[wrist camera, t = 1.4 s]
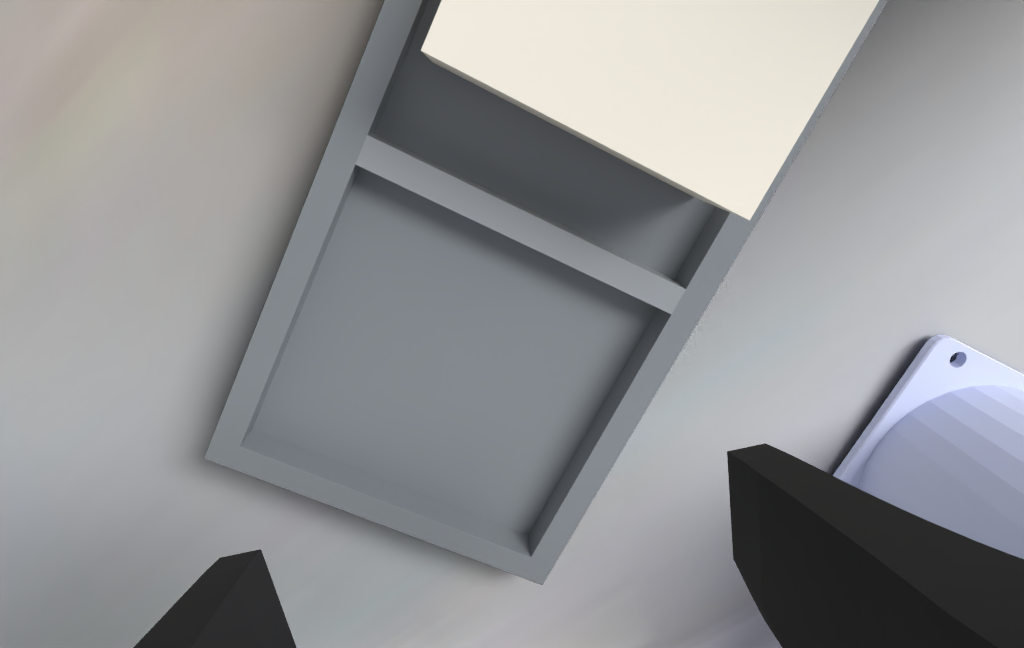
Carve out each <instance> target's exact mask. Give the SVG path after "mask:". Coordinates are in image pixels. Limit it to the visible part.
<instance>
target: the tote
mask: <svg viewBox="0 0 1024 648" xmlns="http://www.w3.org/2000/svg"><path fill="white" fill-rule="evenodd" d="M441 1H442V0H385V1H384V3H383V6H382V8H381V11H380V13H379V16H378V19H377V21H376V24H375V26H374V29H373V31H372V34H371V36H370V39H369V41H368V44H367V46H366V49H365V51H364V54H363V57H362V59H361V62H360V64H359V67H358V69H357V72H356V74H355V77H354V79H353V82H352V84H351V87H350V90H349V92H348V95H347V97H346V100H345V102H344V105H343V107H342V110H341V112H340V115H339V117H338V120H337V123H336V125H335V128H334V130H333V133H332V135H331V138H330V140H329V143H328V145H327V148H326V150H325V153H324V155H323V158H322V161H321V163H320V166H319V168H318V171H317V173H316V176H315V178H314V181H313V183H312V186H311V188H310V191H309V194H308V196H307V199H306V201H305V204H304V206H303V209H302V211H301V214H300V216H299V219H298V221H297V224H296V227H295V229H294V232H293V234H292V237H291V239H290V242H289V244H288V247H287V249H286V252H285V254H284V257H283V259H282V262H281V265H280V267H279V270H278V272H277V275H276V277H275V280H274V282H273V285H272V287H271V290H270V292H269V295H268V298H267V300H266V303H265V305H264V308H263V310H262V313H261V315H260V318H259V320H258V323H257V325H256V328H255V331H254V333H253V336H252V338H251V341H250V343H249V346H248V348H247V351H246V353H245V356H244V358H243V361H242V363H241V366H240V369H239V371H238V374H237V376H236V379H235V381H234V384H233V386H232V389H231V391H230V394H229V396H228V399H227V402H226V404H225V407H224V409H223V412H222V414H221V417H220V419H219V422H218V424H217V427H216V429H215V432H214V435H213V437H212V440H211V442H210V445H209V447H208V450H207V452H206V455H205V457H204V459H207V460H209V461H212V462H215V463H217V464H220V465H223V466H225V467H228V468H231V469H233V470H236V471H239V472H241V473H244V474H247V475H249V476H252V477H255V478H257V479H260V480H263V481H266V482H268V483H271V484H274V485H276V486H279V487H282V488H284V489H287V490H290V491H292V492H295V493H298V494H300V495H303V496H306V497H308V498H311V499H314V500H316V501H319V502H322V503H324V504H327V505H330V506H332V507H335V508H338V509H340V510H343V511H346V512H348V513H351V514H354V515H356V516H359V517H362V518H364V519H367V520H370V521H372V522H375V523H378V524H380V525H383V526H386V527H388V528H391V529H394V530H396V531H399V532H402V533H404V534H407V535H410V536H412V537H415V538H418V539H420V540H423V541H426V542H428V543H431V544H434V545H436V546H439V547H442V548H444V549H447V550H450V551H452V552H455V553H458V554H460V555H463V556H466V557H468V558H471V559H474V560H476V561H479V562H482V563H484V564H487V565H490V566H492V567H495V568H498V569H500V570H503V571H506V572H509V573H511V574H514V575H517V576H519V577H522V578H525V579H527V580H530V581H533V582H535V583H538V584H541V585H543V583H544V582H545V580H546V578H547V576H548V575H549V573H550V571H551V570H552V568H553V566H554V565H555V563H556V561H557V560H558V558H559V556H560V554H561V553H562V551H563V549H564V548H565V546H566V544H567V543H568V541H569V539H570V538H571V536H572V534H573V533H574V531H575V529H576V527H577V526H578V524H579V522H580V521H581V519H582V517H583V516H584V514H585V512H586V511H587V509H588V507H589V505H590V504H591V502H592V500H593V499H594V497H595V495H596V494H597V492H598V490H599V489H600V487H601V485H602V484H603V482H604V480H605V478H606V477H607V475H608V473H609V472H610V470H611V468H612V467H613V465H614V463H615V462H616V460H617V458H618V456H619V455H620V453H621V451H622V450H623V448H624V446H625V445H626V443H627V441H628V440H629V438H630V436H631V435H632V433H633V431H634V429H635V428H636V426H637V424H638V423H639V421H640V419H641V418H642V416H643V414H644V413H645V411H646V409H647V407H648V406H649V404H650V402H651V401H652V399H653V397H654V396H655V394H656V392H657V391H658V389H659V387H660V386H661V384H662V382H663V380H664V379H665V377H666V375H667V374H668V372H669V370H670V369H671V367H672V365H673V364H674V362H675V360H676V358H677V357H678V355H679V353H680V352H681V350H682V348H683V347H684V345H685V343H686V342H687V340H688V338H689V337H690V335H691V333H692V331H693V330H694V328H695V326H696V325H697V323H698V321H699V320H700V318H701V316H702V315H703V313H704V311H705V309H706V308H707V306H708V304H709V303H710V301H711V299H712V298H713V296H714V294H715V293H716V291H717V289H718V288H719V286H720V284H721V282H722V281H723V279H724V277H725V276H726V274H727V272H728V271H729V269H730V267H731V266H732V264H733V262H734V260H735V259H736V257H737V255H738V254H739V252H740V250H741V249H742V247H743V245H744V244H745V242H746V240H747V239H748V237H749V235H750V233H751V232H752V230H753V228H754V227H755V225H756V223H757V222H758V220H759V218H760V217H761V215H762V213H763V211H764V210H765V208H766V206H767V205H768V203H769V201H770V200H771V198H772V196H773V195H774V193H775V191H776V190H777V188H778V186H779V184H780V183H781V181H782V179H783V178H784V176H785V174H786V173H787V171H788V169H789V168H790V166H791V164H792V162H793V161H794V159H795V157H796V156H797V154H798V152H799V151H800V149H801V147H802V146H803V144H804V142H805V141H806V139H807V137H808V135H809V134H810V132H811V130H812V129H813V127H814V125H815V124H816V122H817V120H818V119H819V117H820V115H821V113H822V112H823V110H824V108H825V107H826V105H827V103H828V102H829V100H830V98H831V97H832V95H833V93H834V92H835V90H836V88H837V86H838V85H839V83H840V81H841V80H842V78H843V76H844V75H845V73H846V71H847V70H848V68H849V66H850V64H851V63H852V61H853V59H854V58H855V56H856V54H857V53H858V51H859V49H860V48H861V46H862V44H863V43H864V41H865V39H866V37H867V36H868V34H869V32H870V31H871V29H872V27H873V26H874V24H875V22H876V21H877V19H878V17H879V15H880V14H881V12H882V10H883V9H884V7H885V5H886V4H887V2H888V0H879V2H878V3H877V5H876V7H875V8H874V10H873V12H872V14H871V15H870V17H869V19H868V20H867V22H866V24H865V25H864V27H863V29H862V31H861V32H860V34H859V36H858V37H857V39H856V41H855V42H854V44H853V46H852V48H851V49H850V51H849V53H848V54H847V56H846V58H845V59H844V61H843V63H842V65H841V66H840V68H839V70H838V71H837V73H836V75H835V76H834V78H833V80H832V82H831V83H830V85H829V87H828V88H827V90H826V92H825V93H824V95H823V97H822V99H821V100H820V102H819V104H818V105H817V107H816V109H815V110H814V112H813V114H812V116H811V117H810V119H809V121H808V122H807V124H806V126H805V127H804V129H803V131H802V133H801V134H800V136H799V138H798V139H797V141H796V143H795V144H794V146H793V148H792V150H791V151H790V153H789V155H788V156H787V158H786V160H785V161H784V163H783V165H782V167H781V168H780V170H779V172H778V173H777V175H776V177H775V178H774V180H773V182H772V184H771V185H770V187H769V189H768V190H767V192H766V194H765V195H764V197H763V199H762V201H761V202H760V204H759V206H758V207H757V209H756V211H755V212H754V214H753V216H752V218H751V219H750V220H747V219H745V218H743V217H740V216H738V215H735V214H733V213H731V212H728V211H726V210H723V209H721V208H719V207H716V206H714V205H711V204H709V203H707V202H704V201H702V200H699V199H697V198H695V197H693V196H691V195H689V194H687V193H685V192H683V191H681V190H679V189H677V188H675V187H673V186H671V185H669V184H667V183H665V182H663V181H661V180H660V179H658V178H656V177H654V176H652V175H650V174H648V173H646V172H644V171H642V170H640V169H638V168H636V167H634V166H632V165H630V164H628V163H627V162H625V161H623V160H621V159H619V158H617V157H615V156H613V155H611V154H609V153H607V152H605V151H603V150H601V149H599V148H597V147H595V146H594V145H592V144H590V143H588V142H586V141H584V140H582V139H580V138H578V137H576V136H574V135H572V134H570V133H568V132H566V131H564V130H562V129H561V128H559V127H557V126H555V125H553V124H551V123H549V122H547V121H545V120H543V119H541V118H539V117H537V116H535V115H533V114H531V113H529V112H528V111H526V110H524V109H522V108H520V107H518V106H516V105H514V104H512V103H510V102H508V101H506V100H504V99H502V98H500V97H498V96H496V95H495V94H493V93H491V92H489V91H487V90H485V89H483V88H481V87H479V86H477V85H475V84H473V83H471V82H469V81H467V80H465V79H463V78H462V77H460V76H458V75H456V74H454V73H452V72H450V71H448V70H446V69H444V68H442V67H440V66H438V65H436V64H434V63H433V62H432V61H431V60H430V59H429V58H428V57H427V56H426V55H425V54H424V53H423V52H422V51H421V49H422V46H423V44H424V41H425V39H426V37H427V34H428V32H429V29H430V27H431V25H432V22H433V20H434V17H435V15H436V13H437V10H438V8H439V5H440V3H441Z"/></svg>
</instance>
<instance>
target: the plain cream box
mask: <svg viewBox="0 0 1024 648" xmlns="http://www.w3.org/2000/svg"><path fill="white" fill-rule="evenodd" d="M878 2H879V0H442V1H441V3H440V5H439V8H438V10H437V13H436V15H435V17H434V20H433V22H432V25H431V27H430V29H429V32H428V34H427V37H426V39H425V41H424V44H423V46H422V49H421V51H422V52H423V53H424V54H425V55H426V56H427V57H428V58H429V59H430V60H431V61H432V62H433V63H434V64H436V65H438V66H440V67H442V68H444V69H446V70H448V71H450V72H452V73H454V74H456V75H458V76H460V77H462V78H463V79H465V80H467V81H469V82H471V83H473V84H475V85H477V86H479V87H481V88H483V89H485V90H487V91H489V92H491V93H493V94H495V95H496V96H498V97H500V98H502V99H504V100H506V101H508V102H510V103H512V104H514V105H516V106H518V107H520V108H522V109H524V110H526V111H528V112H529V113H531V114H533V115H535V116H537V117H539V118H541V119H543V120H545V121H547V122H549V123H551V124H553V125H555V126H557V127H559V128H561V129H562V130H564V131H566V132H568V133H570V134H572V135H574V136H576V137H578V138H580V139H582V140H584V141H586V142H588V143H590V144H592V145H594V146H595V147H597V148H599V149H601V150H603V151H605V152H607V153H609V154H611V155H613V156H615V157H617V158H619V159H621V160H623V161H625V162H627V163H628V164H630V165H632V166H634V167H636V168H638V169H640V170H642V171H644V172H646V173H648V174H650V175H652V176H654V177H656V178H658V179H660V180H661V181H663V182H665V183H667V184H669V185H671V186H673V187H675V188H677V189H679V190H681V191H683V192H685V193H687V194H689V195H691V196H693V197H695V198H697V199H699V200H702V201H704V202H707V203H709V204H711V205H714V206H716V207H719V208H721V209H723V210H726V211H728V212H731V213H733V214H735V215H738V216H740V217H743V218H745V219H747V220H750V219H751V218H752V216H753V214H754V212H755V211H756V209H757V207H758V206H759V204H760V202H761V201H762V199H763V197H764V195H765V194H766V192H767V190H768V189H769V187H770V185H771V184H772V182H773V180H774V178H775V177H776V175H777V173H778V172H779V170H780V168H781V167H782V165H783V163H784V161H785V160H786V158H787V156H788V155H789V153H790V151H791V150H792V148H793V146H794V144H795V143H796V141H797V139H798V138H799V136H800V134H801V133H802V131H803V129H804V127H805V126H806V124H807V122H808V121H809V119H810V117H811V116H812V114H813V112H814V110H815V109H816V107H817V105H818V104H819V102H820V100H821V99H822V97H823V95H824V93H825V92H826V90H827V88H828V87H829V85H830V83H831V82H832V80H833V78H834V76H835V75H836V73H837V71H838V70H839V68H840V66H841V65H842V63H843V61H844V59H845V58H846V56H847V54H848V53H849V51H850V49H851V48H852V46H853V44H854V42H855V41H856V39H857V37H858V36H859V34H860V32H861V31H862V29H863V27H864V25H865V24H866V22H867V20H868V19H869V17H870V15H871V14H872V12H873V10H874V8H875V7H876V5H877V3H878Z"/></svg>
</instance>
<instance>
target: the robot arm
mask: <svg viewBox="0 0 1024 648" xmlns="http://www.w3.org/2000/svg"><path fill="white" fill-rule="evenodd" d="M957 352H958V355H957V358H956V359H955V360H954V361H953V362H950V359H951V356H952V355H953V354H955V353H957ZM727 455H728V473H729V490H730V507H731V525H732V542H733V559H734V561H735V563H736V565H737V567H738V569H739V571H740V573H741V575H742V577H743V579H744V581H745V583H746V585H747V587H748V589H749V591H750V593H751V595H752V597H753V599H754V601H755V603H756V605H757V607H758V609H759V611H760V612H761V614H762V616H763V618H764V620H765V621H766V623H767V624H768V626H769V627H770V629H771V631H772V632H773V634H774V635H775V637H776V638H777V640H778V641H779V643H780V644H781V646H782V647H783V648H1024V374H1022V373H1020V372H1018V371H1016V370H1014V369H1012V368H1010V367H1008V366H1006V365H1004V364H1002V363H1000V362H998V361H996V360H994V359H992V358H991V357H989V356H987V355H985V354H983V353H981V352H979V351H977V350H975V349H973V348H971V347H969V346H967V345H965V344H963V343H961V342H959V341H957V340H955V339H953V338H951V337H949V336H947V335H943V334H941V335H936V336H934V337H932V338H930V339H929V340H928V341H927V342H926V343H925V345H924V346H923V347H922V349H921V350H920V352H919V353H918V355H917V356H916V357H915V359H914V360H913V362H912V363H911V365H910V366H909V367H908V369H907V370H906V372H905V373H904V375H903V376H902V377H901V379H900V380H899V382H898V383H897V385H896V386H895V387H894V389H893V390H892V392H891V393H890V395H889V396H888V397H887V399H886V400H885V402H884V403H883V405H882V406H881V407H880V409H879V410H878V412H877V413H876V415H875V416H874V417H873V419H872V420H871V422H870V423H869V425H868V426H867V427H866V429H865V430H864V432H863V433H862V435H861V436H860V437H859V439H858V440H857V442H856V443H855V445H854V446H853V447H852V449H851V450H850V452H849V453H848V455H847V456H846V457H845V459H844V460H843V462H842V463H841V464H840V466H839V467H838V469H837V470H836V472H835V473H834V474H833V476H832V475H830V474H828V473H826V472H824V471H822V470H820V469H818V468H816V467H814V466H812V465H810V464H808V463H806V462H804V461H802V460H800V459H798V458H796V457H794V456H792V455H790V454H787V453H785V452H783V451H781V450H779V449H777V448H774V447H772V446H770V445H767V444H761V445H756V446H751V447H747V448H742V449H737V450H732V451H728V452H727ZM134 648H296V645H295V643H294V640H293V637H292V634H291V631H290V629H289V626H288V623H287V620H286V618H285V615H284V612H283V609H282V607H281V604H280V601H279V598H278V595H277V593H276V590H275V587H274V584H273V582H272V579H271V576H270V573H269V571H268V568H267V565H266V562H265V559H264V557H263V554H262V551H261V549H260V550H256V551H251V552H246V553H241V554H237V555H232V556H227V557H222V558H219V559H218V560H217V561H216V562H215V563H214V564H213V565H212V566H211V567H210V568H209V569H208V570H207V571H206V572H205V573H204V574H203V575H202V576H201V577H200V578H199V579H198V580H197V581H196V582H195V583H194V584H193V585H192V586H191V587H190V588H189V589H188V591H187V592H186V593H185V594H184V595H183V596H182V597H181V598H180V599H179V600H178V601H177V602H176V603H175V604H174V605H173V607H172V608H171V609H170V610H169V611H168V612H167V613H166V614H165V615H164V616H163V617H162V618H161V619H160V620H159V621H158V623H157V624H156V625H155V626H154V627H153V628H152V629H151V630H150V631H149V632H148V633H147V634H146V635H145V636H144V637H143V638H142V639H141V640H140V641H139V643H138V644H137V645H136V646H135V647H134Z"/></svg>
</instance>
